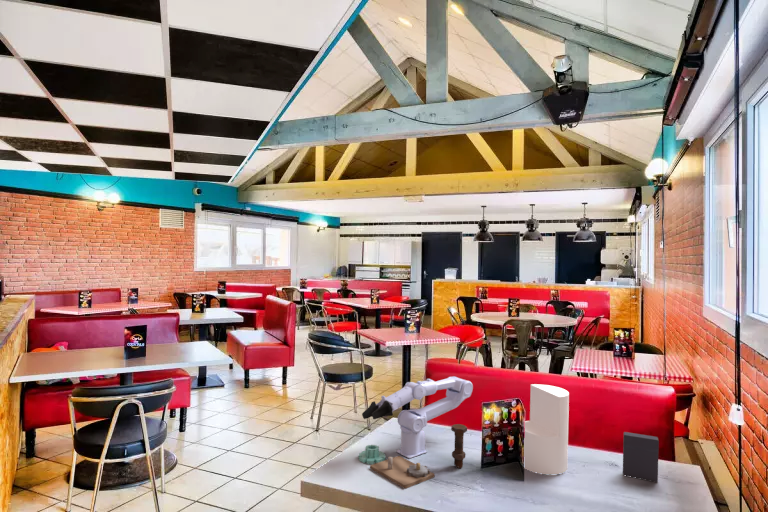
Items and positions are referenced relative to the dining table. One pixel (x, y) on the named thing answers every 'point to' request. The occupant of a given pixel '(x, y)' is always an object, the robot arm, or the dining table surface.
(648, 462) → the calculator
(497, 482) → the dining table surface
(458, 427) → the bolt
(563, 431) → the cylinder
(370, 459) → the teal gear
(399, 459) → the gear board
